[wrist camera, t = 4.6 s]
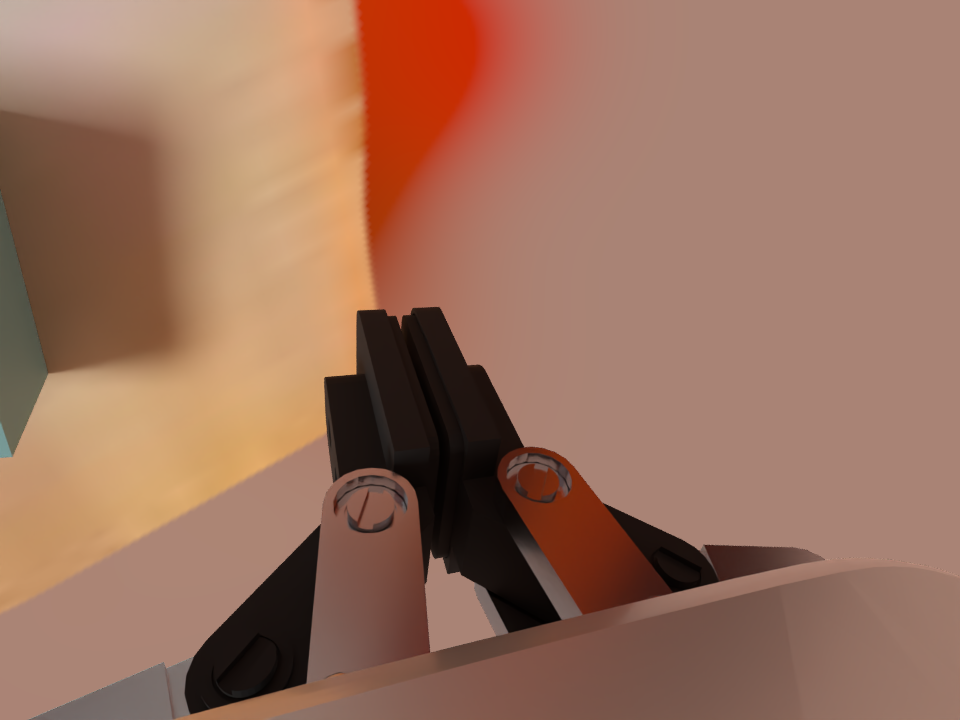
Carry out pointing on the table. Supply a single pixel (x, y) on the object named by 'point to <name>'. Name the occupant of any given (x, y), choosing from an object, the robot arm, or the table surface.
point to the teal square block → (16, 346)
